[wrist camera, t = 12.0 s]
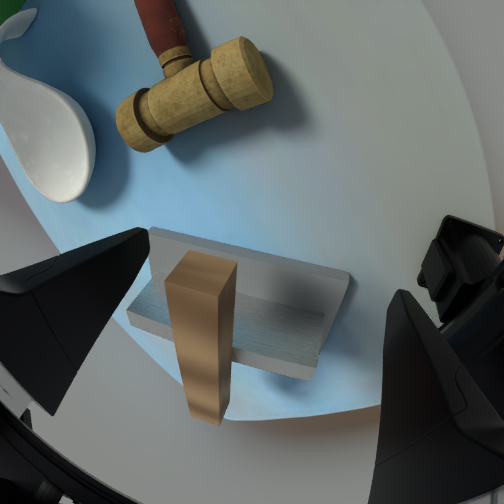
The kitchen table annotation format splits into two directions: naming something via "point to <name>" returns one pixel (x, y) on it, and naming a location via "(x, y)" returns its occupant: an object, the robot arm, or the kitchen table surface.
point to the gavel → (188, 81)
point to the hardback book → (9, 9)
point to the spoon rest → (45, 127)
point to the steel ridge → (246, 330)
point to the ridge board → (260, 273)
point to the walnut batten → (203, 330)
